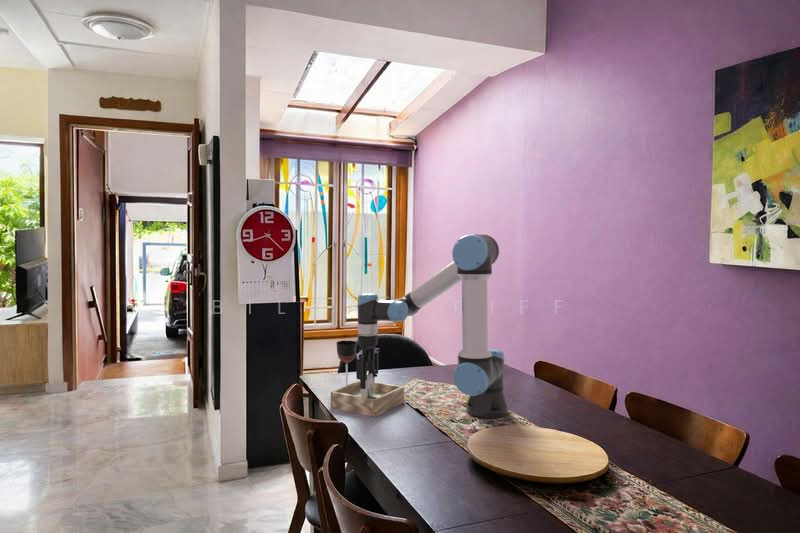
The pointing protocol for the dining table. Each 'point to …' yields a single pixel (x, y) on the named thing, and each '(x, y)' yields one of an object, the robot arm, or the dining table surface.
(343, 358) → the wineglass
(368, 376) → the peg
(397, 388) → the box
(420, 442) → the dining table surface
